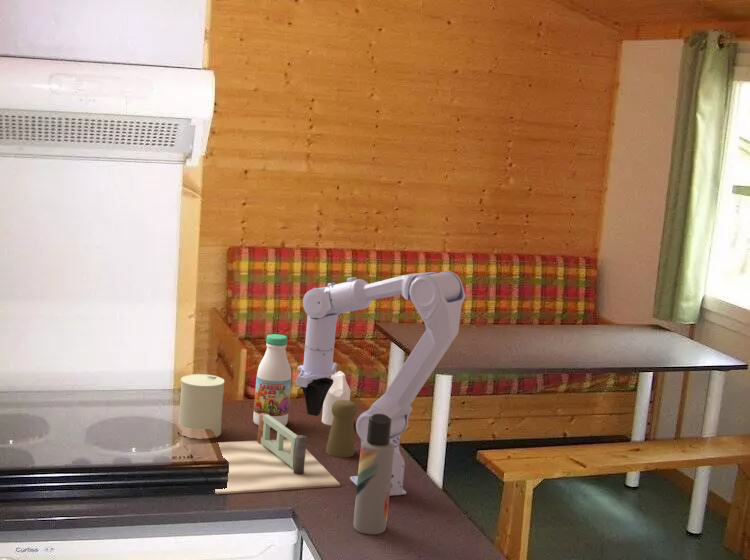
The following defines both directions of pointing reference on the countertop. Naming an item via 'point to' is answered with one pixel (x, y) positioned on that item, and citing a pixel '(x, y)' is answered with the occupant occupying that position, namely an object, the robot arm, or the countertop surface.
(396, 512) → the countertop surface
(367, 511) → the lotion bottle
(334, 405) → the cork
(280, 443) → the bar
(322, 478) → the base
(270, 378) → the milk bottle
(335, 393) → the white chalk piece
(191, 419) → the can
